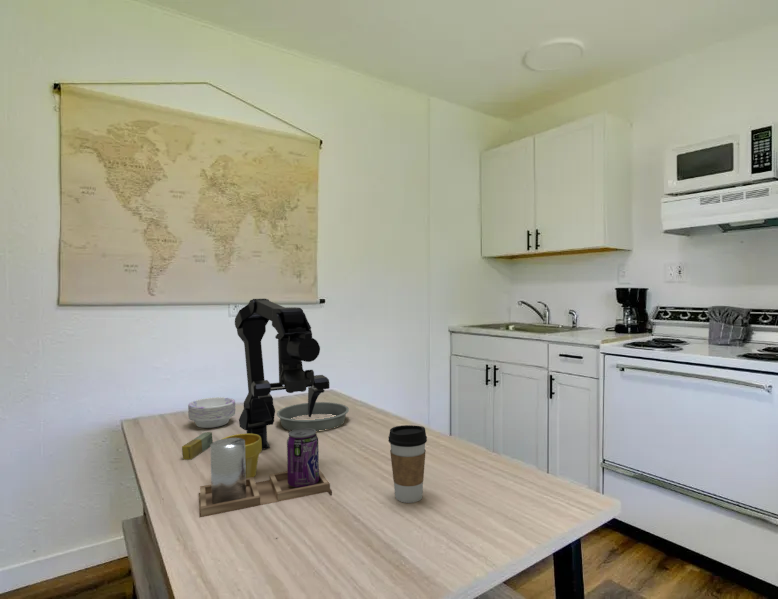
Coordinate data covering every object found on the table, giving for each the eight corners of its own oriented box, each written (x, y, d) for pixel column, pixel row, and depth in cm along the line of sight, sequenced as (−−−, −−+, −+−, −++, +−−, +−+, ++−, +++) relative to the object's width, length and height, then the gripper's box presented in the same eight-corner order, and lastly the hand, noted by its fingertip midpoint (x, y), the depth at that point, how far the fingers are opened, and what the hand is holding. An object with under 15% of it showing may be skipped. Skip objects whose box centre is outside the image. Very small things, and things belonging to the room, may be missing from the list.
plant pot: (209, 481, 109) (208, 441, 108) (247, 468, 116) (246, 430, 116) (232, 493, 102) (231, 450, 102) (271, 478, 110) (270, 438, 110)
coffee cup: (416, 509, 93) (415, 436, 92) (382, 499, 97) (380, 430, 97) (434, 493, 100) (433, 425, 100) (401, 485, 104) (400, 420, 104)
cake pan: (362, 418, 160) (362, 406, 160) (318, 438, 139) (317, 424, 139) (309, 410, 173) (309, 398, 173) (261, 427, 152) (260, 414, 152)
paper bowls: (245, 421, 159) (244, 399, 158) (207, 433, 146) (206, 409, 146) (217, 416, 167) (216, 394, 167) (179, 427, 154) (178, 403, 154)
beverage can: (303, 493, 99) (302, 439, 99) (281, 486, 103) (279, 433, 103) (325, 481, 105) (324, 430, 104) (303, 475, 109) (302, 425, 108)
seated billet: (211, 495, 99) (209, 440, 99) (244, 489, 102) (243, 436, 101) (212, 509, 92) (210, 450, 92) (248, 502, 95) (246, 445, 95)
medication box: (204, 445, 135) (204, 432, 135) (213, 445, 135) (212, 431, 135) (182, 460, 123) (181, 446, 123) (191, 460, 123) (190, 445, 123)
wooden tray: (198, 497, 100) (198, 486, 100) (318, 475, 111) (317, 465, 111) (199, 522, 89) (199, 509, 89) (331, 495, 100) (331, 484, 100)
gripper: (255, 365, 103) (257, 433, 103) (335, 358, 110) (336, 422, 110) (250, 358, 113) (251, 421, 113) (322, 353, 120) (324, 411, 121)
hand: (291, 419), depth 114 cm, fingers open, 9 cm apart
